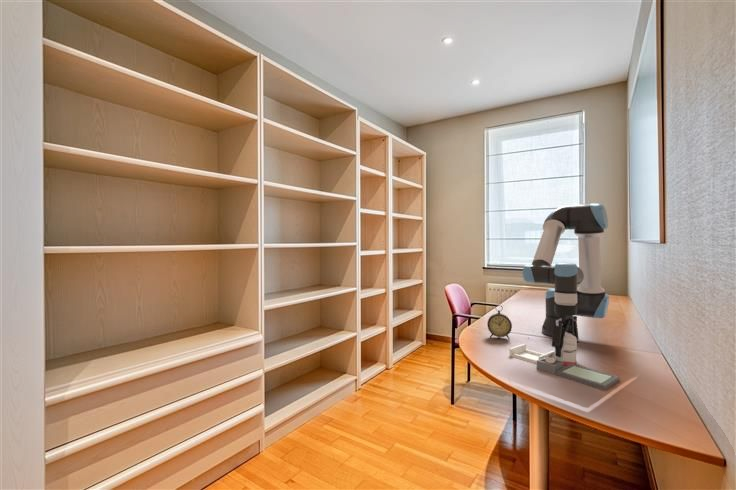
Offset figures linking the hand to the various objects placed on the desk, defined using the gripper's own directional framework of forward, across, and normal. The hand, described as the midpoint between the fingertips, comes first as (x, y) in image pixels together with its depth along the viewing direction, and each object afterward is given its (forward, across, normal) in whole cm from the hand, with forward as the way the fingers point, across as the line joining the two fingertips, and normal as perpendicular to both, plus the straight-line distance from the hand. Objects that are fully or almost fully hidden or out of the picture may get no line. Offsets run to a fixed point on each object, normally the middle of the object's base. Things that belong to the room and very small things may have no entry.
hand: (565, 361), depth 131 cm
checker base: (+1, +10, +11) cm, 15 cm away
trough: (+1, +5, -10) cm, 12 cm away
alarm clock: (+1, -12, -36) cm, 38 cm away
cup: (+1, +12, 0) cm, 12 cm away
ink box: (+1, 0, 0) cm, 1 cm away
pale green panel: (0, +10, +11) cm, 15 cm away
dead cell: (0, +12, 0) cm, 12 cm away
